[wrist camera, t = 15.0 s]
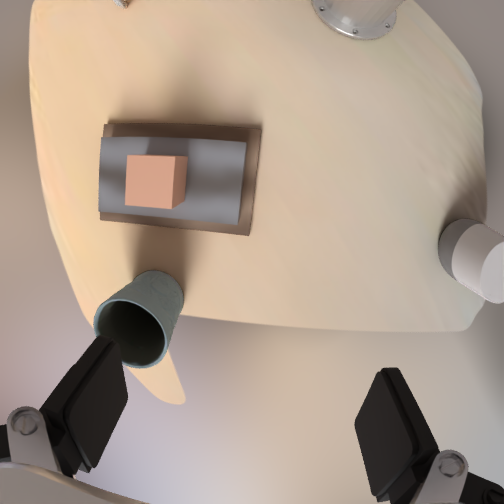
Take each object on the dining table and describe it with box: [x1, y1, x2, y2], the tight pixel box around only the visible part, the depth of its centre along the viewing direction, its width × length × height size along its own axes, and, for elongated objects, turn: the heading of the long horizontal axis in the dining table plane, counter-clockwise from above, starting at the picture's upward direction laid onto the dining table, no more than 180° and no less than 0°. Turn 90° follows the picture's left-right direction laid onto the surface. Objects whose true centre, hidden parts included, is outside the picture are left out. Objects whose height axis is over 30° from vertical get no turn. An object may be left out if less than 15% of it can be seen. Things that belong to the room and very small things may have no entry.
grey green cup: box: [93, 270, 184, 368], centre depth 39 cm, size 10×10×12 cm
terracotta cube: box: [125, 154, 188, 209], centre depth 33 cm, size 6×6×6 cm
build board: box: [99, 123, 261, 236], centre depth 37 cm, size 14×22×4 cm, turn 84°
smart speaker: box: [438, 219, 504, 303], centre depth 34 cm, size 10×9×14 cm
